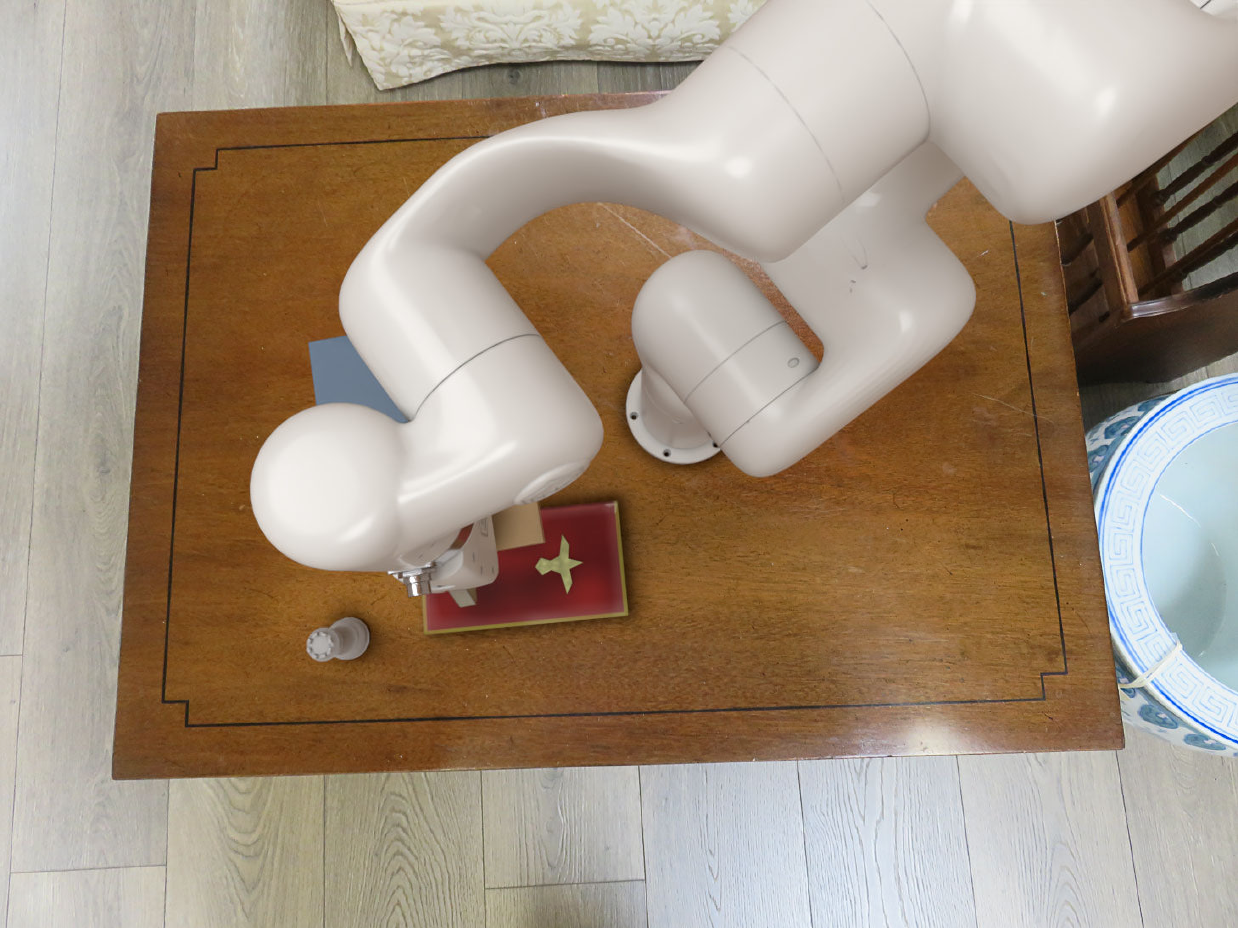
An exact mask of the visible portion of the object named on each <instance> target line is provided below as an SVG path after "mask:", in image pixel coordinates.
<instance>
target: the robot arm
mask: <svg viewBox="0 0 1238 928" xmlns="http://www.w3.org/2000/svg"><path fill="white" fill-rule="evenodd" d="M1237 103H1238V0H766V1H765V2H764V3H763V4H762V5H761V6H760V7H759V8H758V9H757V10H755V12H753V13H752V14H751V15H750V16H749V17H748V18H747V19H746V20H745V21H744V22H743V23H741V25H739V27H738V28H736V29H735V30H734V32H732V34H730V35H729V36H728V37H727V38H726V39H724V41H723V42H722V43H720V44H719V46H717V47H716V48H715V49H714V50H713V51H712V52H711V53H710V54H709V55H708V56H707V57H706V58H705V59H704V60H703V61H702V62H701V63H700V64H699V65H698V66H697V67H696V68H695V69H694V70H693V71H692V72H691V73H690V74H689V75H688V76H686V78H685V79H684V80H683V81H682V82H681V83H679V84H678V85H677V86H676V87H675V88H674V89H673V90H671V91H669V92H668V93H667V94H665V95H664V96H662V97H661V98H658V99H657V100H655V101H654V102H651V103H648V104H644V105H641V106H635V107H630V108H616V109H615V108H614V109H613V108H612V109H600V110H584V111H576V112H575V111H574V112H570V113H565V114H558V115H554V116H549V117H544V118H542V119H539V120H535V121H532V122H528V123H526V124H523V125H519V126H516V127H513V128H510V129H507V130H504V131H502V132H499V133H497V134H495V135H492V136H490V137H487V138H485V139H483V140H480V141H478V142H476V143H474V144H472V145H470V146H468V147H467V148H465V149H463V150H462V151H461V152H458V154H456V155H455V156H453V157H451V158H450V159H449V160H448V161H447V162H445V163H444V164H443V165H442V166H440V167H439V169H437V170H435V172H434V173H433V174H432V175H431V176H430V177H429V178H428V179H427V180H426V181H425V182H424V183H423V184H421V186H420V187H419V188H418V189H417V190H416V191H414V193H413V194H412V195H411V196H410V197H409V198H408V199H407V200H406V201H405V202H404V203H403V204H402V205H401V206H400V207H399V208H397V210H396V211H395V212H394V213H393V214H392V215H391V216H390V217H389V218H388V219H387V220H386V221H385V222H384V223H383V224H382V225H381V226H380V228H378V230H377V231H376V232H374V234H373V235H372V236H371V238H369V240H368V241H366V243H365V245H364V246H363V247H362V248H361V250H360V251H359V253H358V254H357V255H356V257H355V258H354V259H353V261H352V262H351V264H350V266H349V268H348V269H347V272H346V274H345V275H344V278H343V280H342V283H341V285H340V290H339V294H338V295H339V296H338V312H339V313H338V314H339V319H340V321H341V325H342V328H343V330H344V332H345V334H346V335H347V336H348V338H349V340H350V341H351V343H352V344H353V346H354V348H355V349H356V351H357V352H358V354H359V355H360V356H361V358H362V359H363V361H364V362H365V364H366V365H367V366H368V368H369V369H370V370H371V372H372V373H373V375H374V376H375V377H376V379H377V380H378V381H379V383H380V384H381V386H382V387H383V388H384V390H385V391H386V392H387V394H388V395H389V396H390V398H391V399H392V401H393V402H394V403H395V405H396V406H397V407H398V409H399V410H400V411H401V413H402V414H403V416H404V417H405V418H406V420H407V421H408V423H398V422H397V421H395V420H394V419H392V418H391V417H389V416H387V415H385V414H383V413H381V412H379V411H377V410H375V409H372V408H370V407H367V406H364V405H359V404H353V403H328V404H322V405H317V406H316V405H314V406H311V407H309V408H306V409H302V410H301V411H299V412H297V413H296V414H294V415H292V416H289V417H288V418H287V419H285V420H284V422H282V423H280V425H278V426H277V427H276V428H275V429H274V430H273V431H272V432H271V433H270V435H269V436H268V437H267V438H266V440H265V441H264V443H263V444H262V446H261V447H260V448H259V451H258V454H257V456H256V457H255V461H254V463H253V467H252V469H251V474H250V483H249V491H250V493H249V495H250V496H249V497H250V503H251V508H252V512H253V516H254V517H255V519H256V522H257V525H258V527H259V529H260V530H261V532H262V533H263V534H264V537H266V539H267V540H268V542H270V544H272V546H273V547H274V548H275V549H277V551H279V552H280V553H282V554H283V555H284V556H285V557H287V558H288V559H290V560H292V561H293V562H296V563H297V564H300V565H303V566H306V567H308V568H313V569H318V570H322V571H323V570H324V571H328V572H329V571H331V572H374V573H375V572H376V573H377V572H379V573H380V572H381V573H382V572H384V573H386V574H387V575H388V576H391V575H392V576H393V577H394V579H396V580H397V581H398V582H400V583H402V584H403V586H406V592H407V593H406V594H407V598H409V599H410V598H415V597H422V595H426V594H431V593H445V591H449V593H450V594H451V596H452V597H453V599H454V600H455V601H456V603H457V604H458V606H459V607H460V608H462V607H467V606H472V605H476V604H477V593H476V587H479V586H483V585H486V584H490V583H492V582H493V581H494V580H495V579H496V577H497V575H498V557H497V549H496V542H495V536H494V529H493V523H492V517H491V515H493V514H495V513H498V512H500V511H502V510H505V509H507V508H509V507H512V506H514V505H526V504H530V503H534V502H537V501H539V502H540V501H542V500H544V499H546V498H548V497H551V496H552V495H554V494H556V493H558V492H559V491H561V490H563V489H564V488H567V487H568V486H570V485H571V484H572V483H574V482H575V481H576V480H577V479H579V478H580V477H581V476H582V475H583V474H584V473H585V472H586V470H587V469H588V468H589V467H590V464H591V462H592V461H593V460H594V459H595V457H596V456H597V455H598V453H599V452H600V450H601V448H602V445H603V441H604V433H605V430H604V426H603V422H602V419H601V417H600V414H599V412H598V410H597V409H596V407H595V406H594V404H593V403H592V401H591V399H590V398H589V397H588V395H587V394H586V393H585V392H584V390H583V388H581V386H580V385H579V383H578V382H577V381H576V380H575V378H574V377H573V376H572V374H570V372H569V371H568V370H567V368H566V366H564V364H563V363H562V362H561V360H560V359H559V358H558V356H557V355H556V354H555V353H554V351H553V350H552V349H551V347H549V345H548V344H547V343H546V341H545V338H544V337H543V336H542V335H541V334H540V332H539V331H538V329H537V328H536V327H535V326H534V325H533V323H532V322H531V320H530V319H529V318H528V316H527V315H526V314H525V313H524V311H523V310H522V309H521V307H520V306H519V305H518V304H517V302H516V301H515V300H514V299H513V297H512V296H511V294H510V293H509V292H508V291H507V290H506V288H505V287H504V286H503V284H502V283H501V282H500V280H499V279H498V277H497V276H496V275H495V273H494V272H493V271H492V269H490V267H489V266H488V264H487V263H486V261H487V260H488V259H489V258H490V256H492V255H493V254H494V252H496V251H497V250H498V248H499V247H501V246H502V245H503V244H504V243H505V242H506V241H507V240H508V239H509V238H511V236H513V234H515V233H517V231H519V230H520V229H521V228H523V227H524V226H525V225H527V224H528V223H530V222H531V221H533V220H535V219H537V218H538V217H540V216H542V215H544V214H546V213H549V212H550V211H553V210H555V209H559V208H563V207H565V206H571V205H576V204H584V203H604V204H605V203H607V204H608V203H609V204H614V205H620V206H625V207H626V206H627V207H631V208H635V209H638V210H641V211H645V212H648V213H652V214H654V215H656V216H659V217H661V218H664V219H666V220H668V221H670V222H671V223H675V224H677V225H678V226H681V227H683V228H685V229H687V230H689V231H691V232H692V233H694V234H696V235H698V236H700V237H701V238H703V239H705V240H707V241H709V242H711V243H712V244H714V245H716V246H718V247H720V248H722V249H724V250H725V251H728V252H730V253H732V254H734V255H735V256H738V257H741V258H742V259H745V260H749V261H752V262H756V263H757V264H758V266H759V267H760V268H761V270H762V271H763V272H764V273H765V275H766V276H767V278H768V279H769V280H770V282H772V284H773V285H774V286H775V288H776V289H777V290H778V291H779V293H781V294H782V296H783V297H784V299H785V300H786V301H787V302H788V303H789V304H790V306H791V307H792V308H793V309H794V310H795V311H796V313H797V314H798V315H799V316H800V318H801V319H802V320H803V321H804V323H805V324H806V326H808V327H809V329H810V330H811V331H812V332H813V333H814V335H815V336H816V337H817V338H818V339H819V340H820V342H821V343H822V346H823V355H822V356H823V357H822V359H821V361H819V360H818V358H816V356H815V354H814V353H813V352H812V351H811V350H810V349H809V348H808V347H807V346H806V344H805V343H804V342H803V341H802V339H801V338H800V337H799V336H798V334H796V331H794V329H793V328H792V327H791V326H790V325H789V324H788V321H787V320H786V318H785V317H784V316H783V315H782V314H781V313H780V311H779V310H778V309H777V308H776V306H775V305H774V304H773V303H772V302H771V301H770V299H769V298H768V297H767V295H766V294H765V293H764V292H763V291H762V290H761V288H760V287H759V286H758V285H757V284H756V283H755V282H754V281H753V279H751V277H749V275H748V274H747V273H746V272H745V271H744V270H743V269H742V268H741V267H739V265H738V264H736V262H734V261H733V260H732V259H730V258H728V257H727V256H726V255H724V254H721V253H718V252H716V251H714V250H709V249H692V250H687V251H684V252H682V253H679V254H677V255H675V256H673V257H671V258H669V259H668V260H666V261H665V262H663V263H662V264H661V265H660V266H658V267H657V268H656V269H655V270H654V271H653V272H652V273H651V274H650V276H649V277H648V278H647V279H646V281H645V282H644V284H643V285H642V286H641V288H640V290H639V292H638V294H637V297H636V299H635V300H634V304H633V308H632V312H631V313H632V314H631V320H630V321H631V322H630V323H631V324H630V328H631V329H630V330H631V336H632V341H633V345H634V348H635V350H636V353H637V356H638V358H639V361H640V363H641V369H639V370H640V371H638V372H637V374H636V375H635V377H634V379H633V380H632V382H630V383H631V384H630V386H629V389H628V391H627V395H626V403H625V415H626V421H627V424H628V428H629V431H630V432H631V434H632V436H633V438H634V440H635V441H636V442H637V444H638V445H639V446H640V447H641V448H642V449H643V450H644V451H645V452H647V454H649V455H651V456H652V457H654V458H656V459H658V460H660V461H662V462H666V463H669V464H672V465H673V464H674V465H694V464H697V463H700V462H704V461H706V460H708V459H710V458H712V457H714V456H715V455H717V454H718V453H719V452H720V451H721V452H723V454H724V455H725V456H726V458H727V459H728V460H729V461H730V462H731V463H732V464H733V465H734V466H735V467H736V468H737V469H738V470H740V471H741V472H742V473H743V474H746V475H747V476H751V477H752V478H753V477H754V478H767V477H771V476H774V475H776V474H779V473H781V472H782V471H784V470H786V469H788V468H790V467H792V466H793V465H795V464H796V463H798V462H799V461H801V460H802V459H804V458H805V457H806V456H808V455H809V454H810V453H812V452H813V451H814V450H816V449H817V448H819V447H820V446H821V445H822V444H824V443H825V442H826V441H828V440H829V439H830V438H831V437H833V436H835V434H837V433H838V432H839V431H840V430H842V429H843V428H844V427H846V426H847V425H848V424H850V423H851V422H852V421H854V420H855V419H856V418H858V417H859V416H860V415H861V414H863V413H864V412H865V411H867V410H868V409H870V408H871V407H872V406H873V405H875V404H876V403H878V401H880V400H881V399H883V398H884V397H886V396H887V394H889V393H890V392H891V391H893V390H895V388H897V387H899V385H901V384H902V383H904V381H906V380H907V379H909V378H910V377H911V376H913V375H914V374H916V373H917V372H918V371H919V370H920V369H921V368H923V367H924V366H925V365H927V363H929V362H930V361H931V360H932V359H934V357H936V356H937V355H938V354H940V352H942V351H943V350H944V349H945V348H946V347H947V346H948V345H949V344H950V343H951V342H952V341H953V340H955V338H956V337H957V336H958V335H959V334H960V333H961V332H962V330H963V328H964V327H965V326H966V324H967V323H968V322H969V321H970V318H971V317H972V315H973V312H974V311H975V310H974V309H975V308H976V307H975V306H976V302H977V291H976V287H975V283H974V281H973V278H972V276H971V274H970V273H969V271H968V269H967V268H966V267H965V265H964V264H963V263H962V262H961V260H960V258H958V257H957V255H956V254H955V253H954V252H953V250H952V249H950V248H949V246H948V244H946V243H945V242H944V241H943V240H942V238H941V237H940V236H939V235H938V234H937V233H936V232H935V230H934V229H933V228H932V227H931V225H930V224H928V222H927V215H928V213H929V212H930V210H931V209H932V208H933V207H934V205H936V203H937V202H939V201H940V200H941V199H942V198H943V197H944V196H945V195H946V194H947V193H949V192H950V191H951V190H952V189H953V188H954V187H955V186H956V185H957V184H958V183H960V182H961V181H962V180H963V179H964V178H965V177H966V179H968V181H969V182H970V183H971V184H972V185H973V186H974V187H975V188H976V189H977V190H978V192H979V193H980V194H981V195H982V196H983V197H984V198H985V199H986V201H987V202H988V203H989V204H990V205H991V206H992V207H993V208H994V209H995V210H996V211H997V212H998V213H999V214H1000V215H1001V216H1003V217H1004V218H1006V219H1007V220H1008V221H1011V222H1013V223H1015V224H1019V225H1022V226H1023V225H1024V226H1035V225H1042V224H1045V223H1046V224H1047V223H1050V222H1054V221H1058V220H1060V219H1063V218H1065V217H1067V216H1069V215H1071V214H1073V213H1076V212H1078V211H1079V210H1081V209H1083V208H1085V207H1087V206H1089V205H1091V204H1093V203H1096V202H1097V201H1099V200H1101V199H1102V198H1104V197H1105V196H1107V195H1109V194H1111V193H1112V192H1113V191H1115V190H1117V189H1118V188H1119V187H1121V186H1124V185H1125V184H1126V183H1128V182H1129V181H1131V180H1132V179H1134V178H1135V177H1137V176H1138V175H1140V174H1141V173H1142V172H1144V171H1146V170H1147V169H1148V168H1149V167H1150V166H1152V165H1153V164H1155V163H1156V162H1157V161H1159V160H1160V159H1161V158H1163V157H1164V156H1166V155H1167V154H1168V153H1170V152H1171V151H1172V150H1173V149H1175V148H1176V147H1178V146H1179V145H1180V144H1182V143H1183V142H1185V141H1186V140H1187V139H1188V138H1190V137H1191V136H1193V135H1194V134H1196V133H1197V132H1199V131H1200V130H1202V129H1203V128H1204V127H1206V126H1207V125H1209V124H1210V123H1211V122H1213V121H1214V120H1216V119H1218V117H1220V116H1221V115H1223V114H1224V113H1225V112H1227V111H1228V110H1229V109H1231V108H1232V107H1233V106H1234V105H1236V104H1237ZM633 417H635V418H634V419H633ZM714 444H716V445H717V446H715V445H714ZM666 453H667V454H668V455H667V456H666V455H665V454H666Z"/></svg>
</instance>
